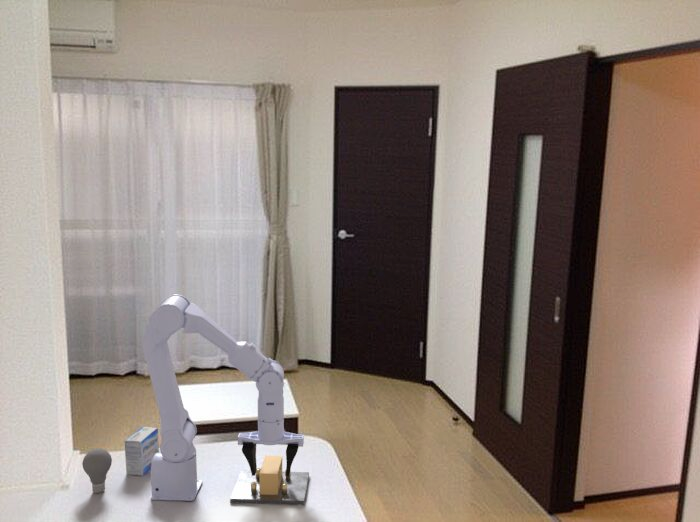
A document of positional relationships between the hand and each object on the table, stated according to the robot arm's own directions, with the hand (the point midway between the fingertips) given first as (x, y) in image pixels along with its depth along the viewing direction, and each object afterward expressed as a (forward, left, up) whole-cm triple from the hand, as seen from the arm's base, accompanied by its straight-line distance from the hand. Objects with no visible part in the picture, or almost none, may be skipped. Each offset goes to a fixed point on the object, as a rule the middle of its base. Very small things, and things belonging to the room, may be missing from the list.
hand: (271, 473), depth 140 cm
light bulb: (-38, -3, -4) cm, 38 cm away
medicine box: (-32, +8, -4) cm, 33 cm away
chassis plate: (0, 0, -4) cm, 4 cm away
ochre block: (0, 0, -3) cm, 3 cm away
